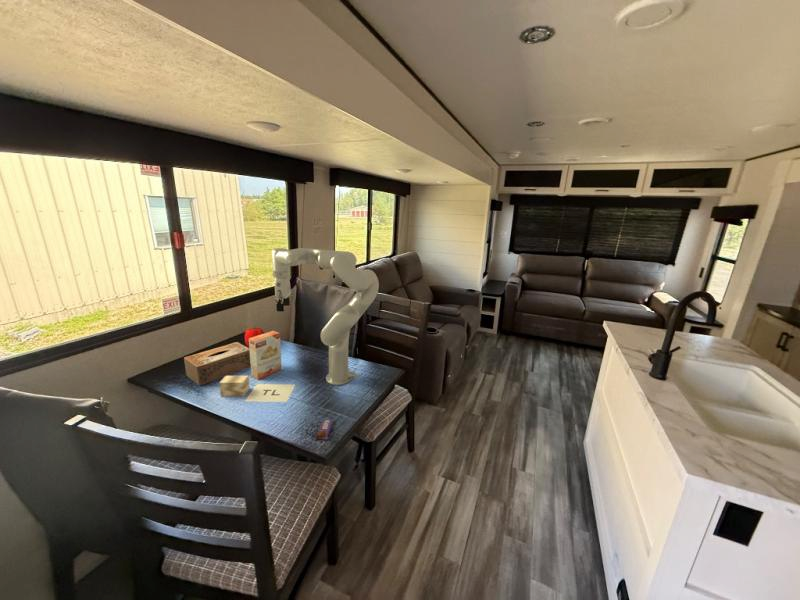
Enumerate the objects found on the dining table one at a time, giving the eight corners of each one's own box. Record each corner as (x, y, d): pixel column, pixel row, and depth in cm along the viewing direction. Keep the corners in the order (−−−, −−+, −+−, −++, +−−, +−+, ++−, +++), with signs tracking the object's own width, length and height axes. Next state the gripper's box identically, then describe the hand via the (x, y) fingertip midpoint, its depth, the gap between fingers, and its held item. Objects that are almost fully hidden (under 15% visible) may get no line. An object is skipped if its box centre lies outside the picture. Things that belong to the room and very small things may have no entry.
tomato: (258, 353, 177) (256, 332, 174) (240, 350, 180) (238, 329, 177) (271, 345, 188) (269, 325, 185) (253, 342, 191) (252, 323, 187)
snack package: (323, 416, 123) (335, 417, 123) (323, 420, 124) (335, 421, 124) (314, 436, 112) (327, 437, 112) (314, 440, 113) (327, 441, 113)
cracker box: (258, 380, 149) (255, 341, 144) (251, 376, 152) (247, 338, 147) (282, 369, 161) (280, 332, 155) (275, 366, 164) (273, 329, 158)
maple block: (249, 389, 142) (248, 375, 140) (244, 396, 136) (243, 382, 135) (227, 389, 141) (225, 375, 139) (221, 396, 135) (219, 382, 134)
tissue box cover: (199, 386, 143) (196, 367, 140) (186, 376, 151) (183, 357, 148) (252, 366, 163) (251, 349, 160) (238, 358, 171) (237, 341, 168)
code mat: (295, 384, 147) (295, 384, 147) (286, 401, 134) (286, 401, 134) (257, 384, 146) (257, 384, 146) (244, 401, 133) (244, 401, 132)
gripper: (284, 278, 138) (286, 313, 143) (294, 271, 155) (295, 303, 160) (267, 277, 138) (269, 313, 142) (279, 270, 154) (281, 303, 159)
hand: (283, 308), depth 151 cm, fingers open, 9 cm apart
